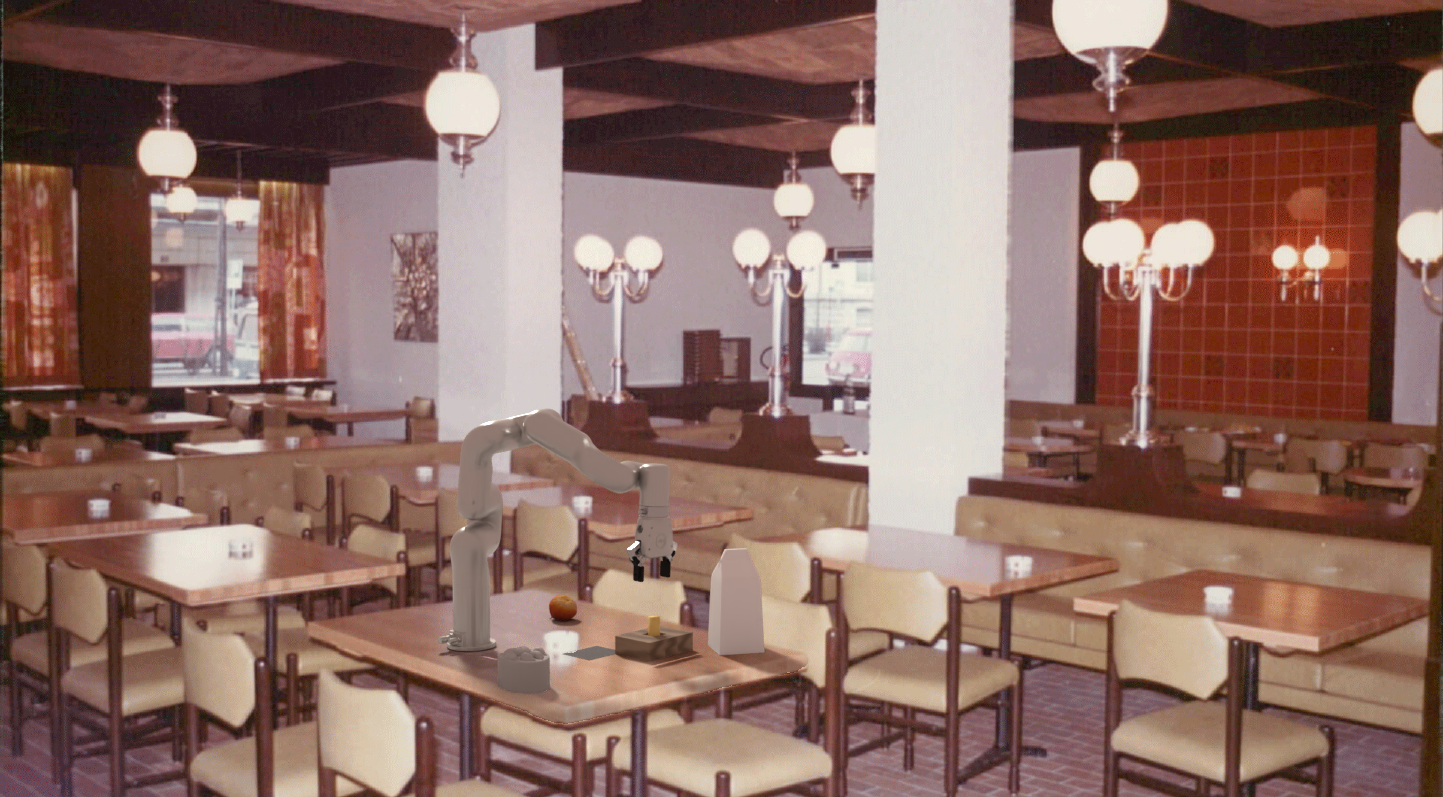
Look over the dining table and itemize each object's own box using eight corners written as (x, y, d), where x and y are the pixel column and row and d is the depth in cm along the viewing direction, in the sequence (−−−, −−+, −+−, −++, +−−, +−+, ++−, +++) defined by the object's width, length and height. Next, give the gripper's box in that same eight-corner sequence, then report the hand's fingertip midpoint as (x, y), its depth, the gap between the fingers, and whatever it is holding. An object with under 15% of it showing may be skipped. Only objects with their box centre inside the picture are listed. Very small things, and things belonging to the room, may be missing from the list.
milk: (719, 655, 332) (719, 553, 331) (707, 645, 343) (707, 546, 342) (764, 652, 335) (764, 551, 334) (751, 642, 346) (751, 544, 345)
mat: (589, 661, 325) (589, 660, 325) (562, 655, 331) (562, 653, 331) (623, 653, 334) (623, 651, 334) (596, 647, 340) (596, 645, 340)
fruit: (557, 610, 381) (567, 588, 378) (574, 627, 377) (585, 605, 374) (537, 614, 374) (548, 592, 372) (555, 631, 371) (566, 609, 368)
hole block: (649, 663, 324) (649, 643, 323) (615, 655, 332) (615, 635, 331) (692, 651, 336) (692, 632, 336) (659, 644, 344) (659, 625, 343)
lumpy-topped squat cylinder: (530, 677, 310) (530, 641, 309) (560, 688, 300) (560, 651, 299) (491, 685, 303) (491, 648, 302) (521, 696, 293) (521, 658, 293)
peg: (654, 655, 331) (654, 618, 331) (645, 653, 333) (645, 616, 333) (662, 653, 334) (662, 616, 333) (653, 651, 336) (654, 615, 335)
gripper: (640, 516, 323) (638, 585, 324) (687, 511, 336) (685, 577, 337) (619, 513, 328) (617, 580, 329) (666, 508, 341) (664, 573, 342)
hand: (651, 579), depth 333 cm, fingers open, 9 cm apart
